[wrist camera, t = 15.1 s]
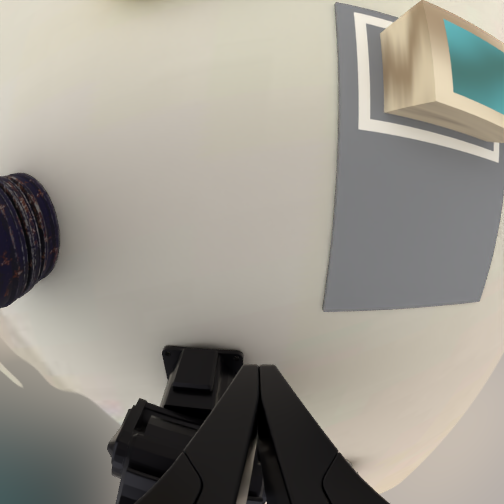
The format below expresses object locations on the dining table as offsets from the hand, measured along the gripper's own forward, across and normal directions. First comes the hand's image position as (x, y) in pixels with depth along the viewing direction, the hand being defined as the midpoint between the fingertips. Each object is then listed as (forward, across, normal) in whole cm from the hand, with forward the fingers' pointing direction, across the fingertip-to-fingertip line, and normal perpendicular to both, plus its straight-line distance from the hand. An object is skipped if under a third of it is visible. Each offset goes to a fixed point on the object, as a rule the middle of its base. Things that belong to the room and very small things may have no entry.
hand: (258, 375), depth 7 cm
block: (+6, -13, -12) cm, 18 cm away
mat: (+12, -13, -6) cm, 19 cm away
